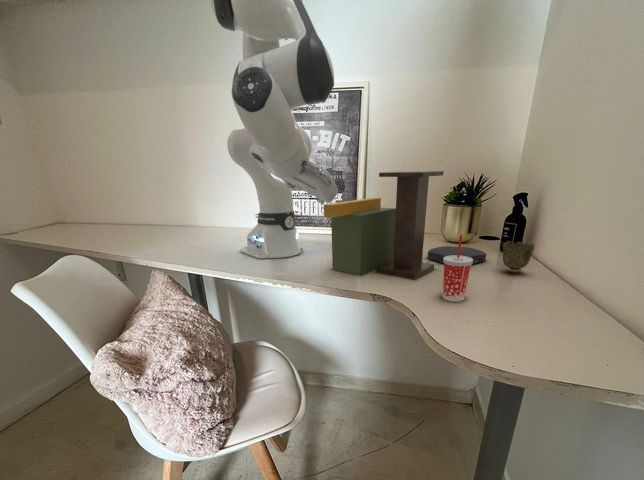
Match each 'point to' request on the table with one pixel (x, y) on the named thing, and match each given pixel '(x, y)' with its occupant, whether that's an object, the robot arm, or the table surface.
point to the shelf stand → (409, 224)
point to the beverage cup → (456, 275)
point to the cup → (516, 256)
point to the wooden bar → (351, 207)
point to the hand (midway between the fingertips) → (307, 193)
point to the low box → (363, 240)
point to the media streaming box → (445, 251)
